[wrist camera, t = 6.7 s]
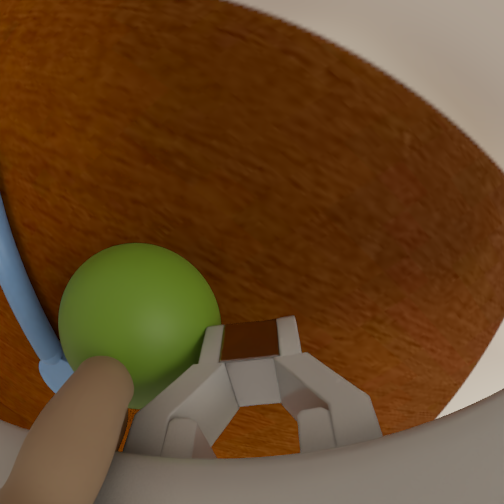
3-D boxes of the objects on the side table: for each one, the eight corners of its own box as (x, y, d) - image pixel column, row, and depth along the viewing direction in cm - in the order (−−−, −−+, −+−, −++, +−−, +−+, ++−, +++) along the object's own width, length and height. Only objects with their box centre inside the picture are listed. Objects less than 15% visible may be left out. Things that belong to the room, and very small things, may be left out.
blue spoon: (-33, 162, 9) (-54, 170, 8) (14, 132, 9) (-11, 136, 7) (67, 394, 15) (58, 411, 14) (120, 400, 15) (112, 420, 14)
